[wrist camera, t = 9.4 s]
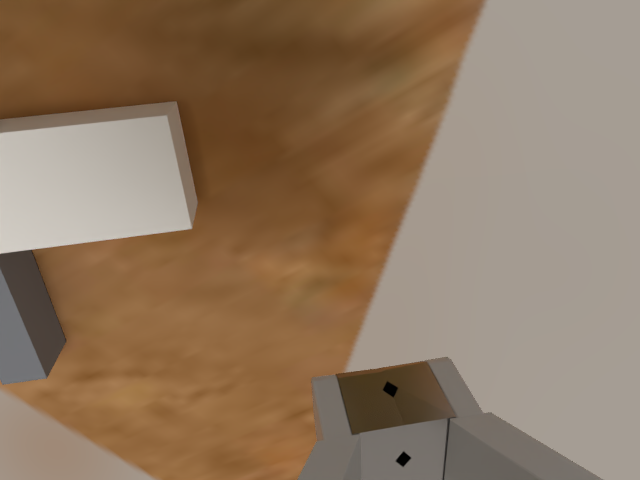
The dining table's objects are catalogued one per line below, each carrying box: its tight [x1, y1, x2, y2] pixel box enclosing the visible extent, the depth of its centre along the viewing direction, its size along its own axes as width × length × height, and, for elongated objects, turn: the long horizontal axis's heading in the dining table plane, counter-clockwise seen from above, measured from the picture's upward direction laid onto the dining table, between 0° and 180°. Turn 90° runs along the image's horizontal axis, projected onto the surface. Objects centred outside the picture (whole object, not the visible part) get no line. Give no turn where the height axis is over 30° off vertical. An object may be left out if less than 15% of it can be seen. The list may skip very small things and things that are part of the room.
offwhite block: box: [0, 101, 198, 254], centre depth 25 cm, size 6×10×4 cm, turn 95°
